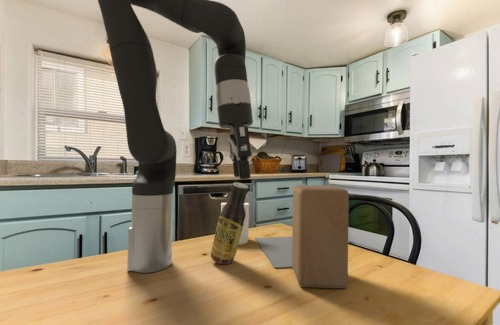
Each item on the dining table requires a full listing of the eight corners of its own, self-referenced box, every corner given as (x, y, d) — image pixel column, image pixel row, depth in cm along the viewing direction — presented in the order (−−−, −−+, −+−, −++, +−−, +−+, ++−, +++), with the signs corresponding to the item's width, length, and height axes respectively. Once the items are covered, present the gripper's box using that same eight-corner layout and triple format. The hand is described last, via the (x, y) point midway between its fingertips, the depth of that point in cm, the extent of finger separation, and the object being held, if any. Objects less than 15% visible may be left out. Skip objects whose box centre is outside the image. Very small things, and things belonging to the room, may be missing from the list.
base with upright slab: (247, 236, 84) (248, 201, 84) (248, 245, 75) (249, 205, 75) (221, 236, 83) (222, 201, 84) (219, 245, 74) (220, 205, 75)
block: (349, 290, 48) (350, 189, 48) (298, 289, 48) (300, 188, 49) (333, 269, 58) (334, 185, 58) (291, 268, 58) (292, 184, 59)
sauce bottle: (205, 258, 60) (220, 182, 56) (217, 248, 65) (232, 178, 62) (228, 270, 57) (245, 191, 54) (239, 258, 63) (255, 186, 60)
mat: (274, 268, 58) (274, 267, 58) (254, 238, 81) (254, 237, 81) (336, 265, 61) (336, 263, 61) (300, 237, 84) (300, 236, 84)
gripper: (215, 112, 60) (222, 178, 60) (219, 97, 46) (228, 182, 46) (245, 110, 62) (251, 174, 62) (257, 95, 48) (266, 177, 48)
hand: (241, 177), depth 54 cm, fingers open, 8 cm apart
